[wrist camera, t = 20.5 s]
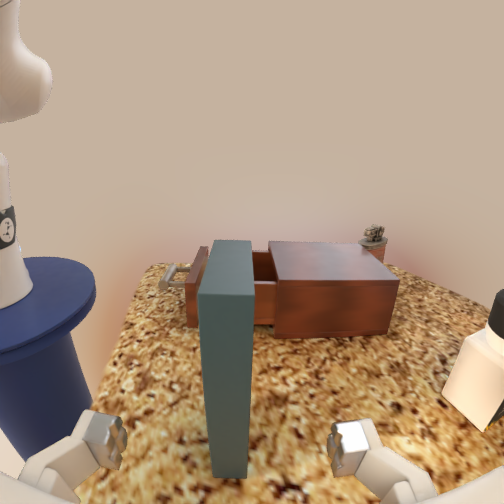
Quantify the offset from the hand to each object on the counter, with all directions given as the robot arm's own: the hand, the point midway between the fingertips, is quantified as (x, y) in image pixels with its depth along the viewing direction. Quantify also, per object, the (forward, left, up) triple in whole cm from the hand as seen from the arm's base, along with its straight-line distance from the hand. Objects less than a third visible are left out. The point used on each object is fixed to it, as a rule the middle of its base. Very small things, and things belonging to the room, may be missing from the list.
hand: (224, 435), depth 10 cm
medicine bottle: (+25, +8, -11) cm, 28 cm away
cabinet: (+12, +30, -11) cm, 34 cm away
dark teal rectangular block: (0, +8, -11) cm, 14 cm away
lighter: (+23, +40, -11) cm, 48 cm away
